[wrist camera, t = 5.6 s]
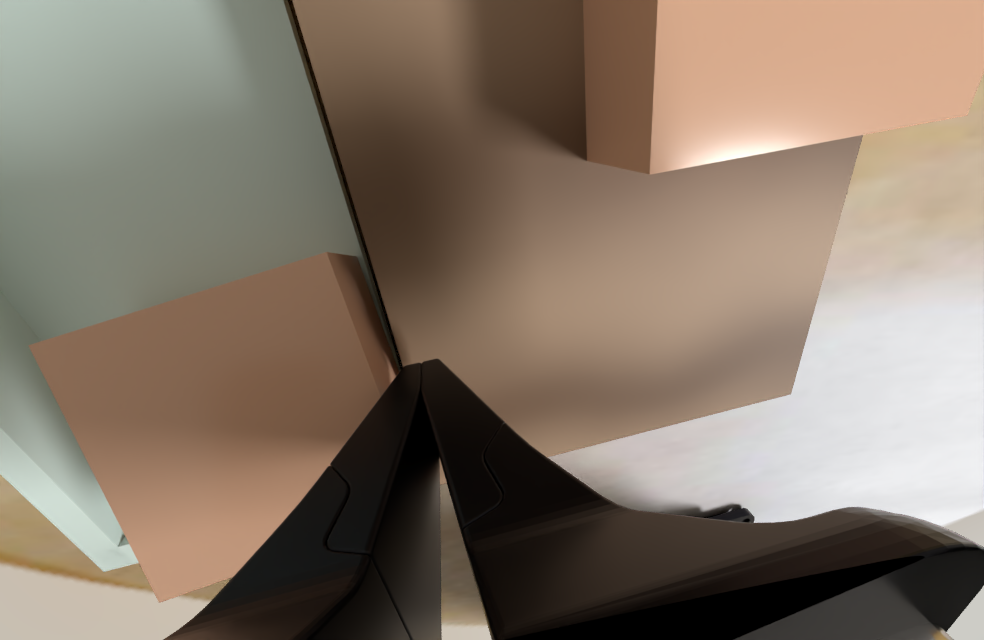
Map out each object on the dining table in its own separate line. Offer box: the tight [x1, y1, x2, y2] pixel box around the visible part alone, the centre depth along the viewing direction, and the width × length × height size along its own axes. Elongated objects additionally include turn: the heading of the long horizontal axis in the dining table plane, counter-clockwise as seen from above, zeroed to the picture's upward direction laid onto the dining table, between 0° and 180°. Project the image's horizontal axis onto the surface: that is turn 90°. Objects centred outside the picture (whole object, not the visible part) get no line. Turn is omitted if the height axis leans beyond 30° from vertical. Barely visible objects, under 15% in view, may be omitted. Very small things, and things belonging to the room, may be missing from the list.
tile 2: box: [28, 252, 399, 602], centre depth 9 cm, size 6×6×2 cm
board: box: [292, 0, 863, 485], centre depth 10 cm, size 16×12×2 cm
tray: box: [0, 0, 401, 572], centre depth 9 cm, size 16×9×2 cm, turn 8°
